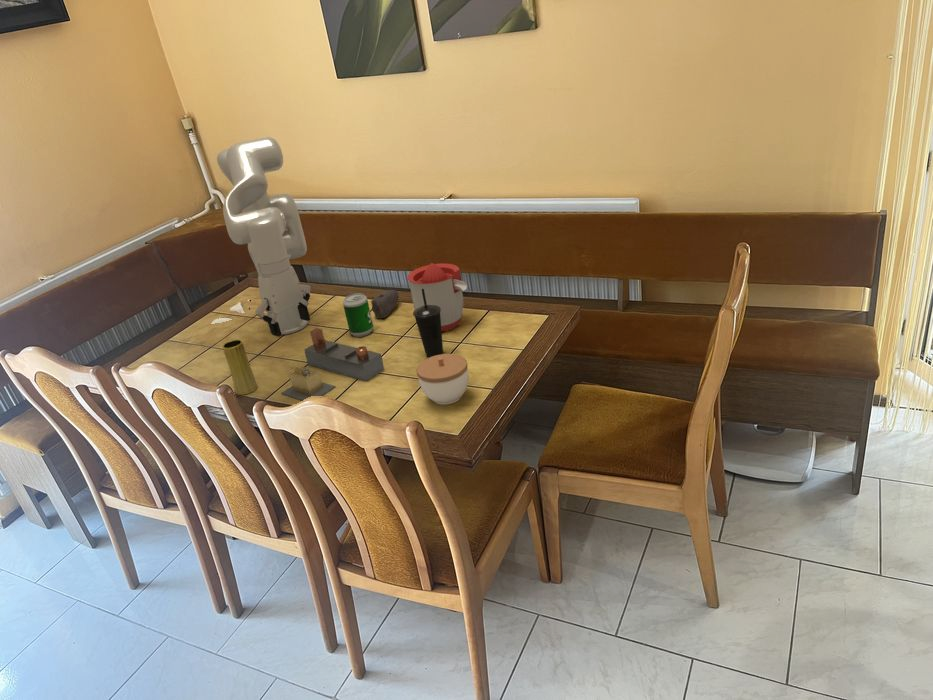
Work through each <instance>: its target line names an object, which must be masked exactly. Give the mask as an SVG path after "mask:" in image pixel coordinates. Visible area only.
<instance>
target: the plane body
mask: <svg viewBox="0 0 933 700" xmlns="http://www.w3.org/2000/svg"><path fill="white" fill-rule="evenodd" d="M309 334H310V337H311V340H312V345H310V346H307V348H305V349H303V351H304V354H305V355H304V356H305V359H306V362H307V365H308V366H310V367H314V368H317V369H321V370H324V371H328V372H332V373H335V374H339V375H342V376H346V377H350V378H353V379H357V380H361V381H364V382H368V381H370V380H371V379H373V378H374V377H375V376H377V375H379V374H380V373H382V372H383V371H385V366H384V362H383V357H382V353H380V352H376V351H371V350H368V348H367V346H362V345H361V346H358V347H355V346H351V345H347V344H343V343H340V342H339V343H338V342H334V341H329V340H326V339H325V337H324V333H323V329H321V328H317V327H315V328H314V329H312V330H310V331H309Z"/></svg>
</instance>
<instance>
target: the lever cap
mask: <svg viewBox="0 0 933 700" xmlns="http://www.w3.org/2000/svg"><path fill="white" fill-rule="evenodd" d="M288 377H289V380H290V384H291V386H292V387H293V391H295V392H299V393H302V394H305V395H309V396H311V395H313V394H314V393H316V392H317V391H319V390H320V389H322V388H324V387H323V384H322V382H323V381H322V377H321V373H320V371H319V370H316V369H312V368H308V367H305V366H301V367H297V368H295V369H293V371H292V372H291V373H290V374H288Z"/></svg>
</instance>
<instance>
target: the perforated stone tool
mask: <svg viewBox="0 0 933 700" xmlns="http://www.w3.org/2000/svg"><path fill="white" fill-rule="evenodd" d="M399 296H400V295H399V293H398V290H395V289H388V290H386V291H383V292H382V293H380V294H378V295H376V296H375V297H374V298H373V299H372V300H371V301H370V303H371V310H372V312H373V314H374V316H375V317H376V318H379V319H383V318H385V317H387V316H388V315H390V314H391V313H392V311H394V309H395V308H396V307H397V304H398V302H399V298H400V297H399Z"/></svg>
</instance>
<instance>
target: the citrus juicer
mask: <svg viewBox="0 0 933 700" xmlns="http://www.w3.org/2000/svg"><path fill="white" fill-rule="evenodd" d="M407 281H408V282H409V283H408V284H409V288H410V293H411V298H412V299H411V300H412V304H413V308H414V310H416V309H417V308H419V307H421V306H424V300H423V295H422V289H424V292H425V297H426V303H427V305H436V306H439V307H440V308H441V311H440V318H441V330H442V332H448V331H451V330H452V329H454V328H457V327H458V326H459V325H460V324H461V323H462V319H463V311H464V295H463V292H465V291H466V290H467V289H468V285H467V283H466V282H465V281H463V280H462V277H461V269H460V267H459V266H458V265H455V264H453V263H433V262H432V263H429V264H427V265H423V266H420V267H418V268H415V269H413V270H412V271H411V272H409V273H408V274H407Z"/></svg>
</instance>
